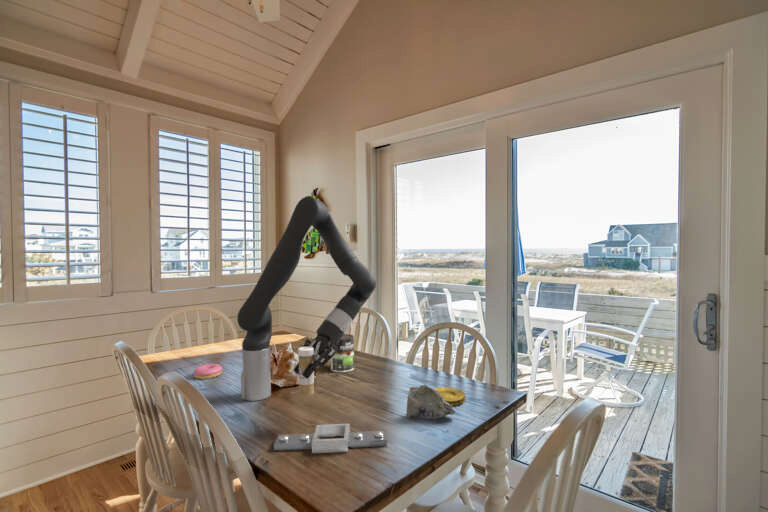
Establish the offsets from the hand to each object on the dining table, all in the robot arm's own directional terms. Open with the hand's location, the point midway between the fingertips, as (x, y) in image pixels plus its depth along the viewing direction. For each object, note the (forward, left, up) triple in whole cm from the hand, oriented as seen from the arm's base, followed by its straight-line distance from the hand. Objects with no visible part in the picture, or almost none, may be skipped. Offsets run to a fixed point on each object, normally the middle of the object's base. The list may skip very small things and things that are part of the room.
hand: (300, 374), depth 107 cm
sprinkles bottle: (+1, +1, -6) cm, 7 cm away
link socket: (+9, -9, -16) cm, 20 cm away
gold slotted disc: (+45, +17, -16) cm, 51 cm away
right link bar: (+19, -9, -16) cm, 26 cm away
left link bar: (0, -9, -16) cm, 18 cm away
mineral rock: (+37, +4, -16) cm, 41 cm away
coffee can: (+7, +54, -16) cm, 57 cm away
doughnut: (-49, +51, -16) cm, 72 cm away
